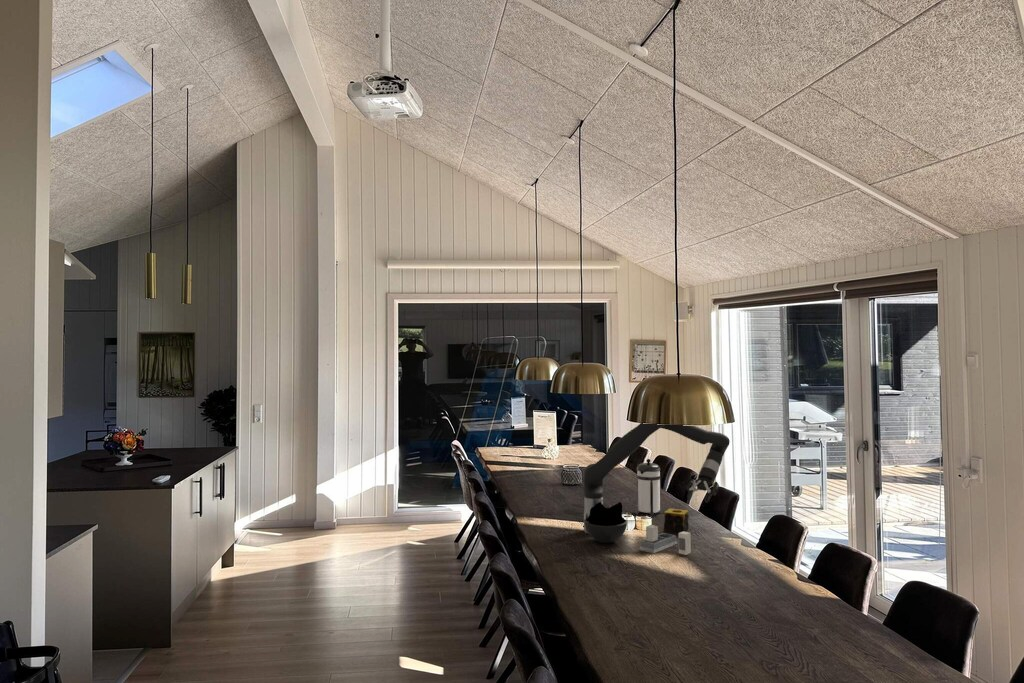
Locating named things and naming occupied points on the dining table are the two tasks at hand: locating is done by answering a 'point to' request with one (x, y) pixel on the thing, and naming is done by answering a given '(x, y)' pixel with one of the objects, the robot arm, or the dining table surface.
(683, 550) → the tall off-white block
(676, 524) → the candle
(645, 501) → the coffee press
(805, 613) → the dining table surface
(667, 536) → the gray compartment block tray
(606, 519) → the coal bowl
